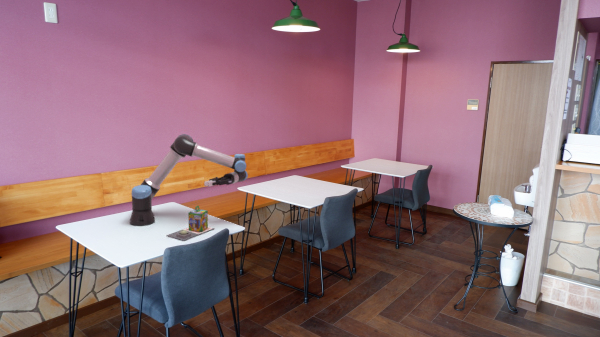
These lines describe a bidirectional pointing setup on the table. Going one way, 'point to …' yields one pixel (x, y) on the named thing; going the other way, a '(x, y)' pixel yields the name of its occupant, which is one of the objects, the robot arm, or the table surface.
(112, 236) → the table surface
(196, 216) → the chalk box
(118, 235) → the table surface
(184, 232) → the button
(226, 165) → the robot arm
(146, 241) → the table surface
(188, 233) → the slate board
